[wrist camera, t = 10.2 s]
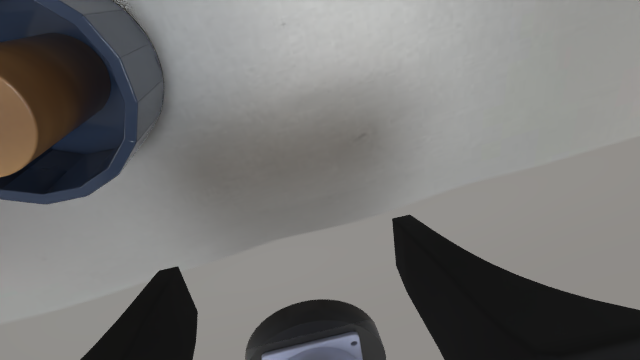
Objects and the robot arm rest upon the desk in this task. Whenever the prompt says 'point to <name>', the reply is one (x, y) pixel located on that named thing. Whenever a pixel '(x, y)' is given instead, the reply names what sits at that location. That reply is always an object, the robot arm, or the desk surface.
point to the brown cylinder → (45, 94)
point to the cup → (107, 124)
